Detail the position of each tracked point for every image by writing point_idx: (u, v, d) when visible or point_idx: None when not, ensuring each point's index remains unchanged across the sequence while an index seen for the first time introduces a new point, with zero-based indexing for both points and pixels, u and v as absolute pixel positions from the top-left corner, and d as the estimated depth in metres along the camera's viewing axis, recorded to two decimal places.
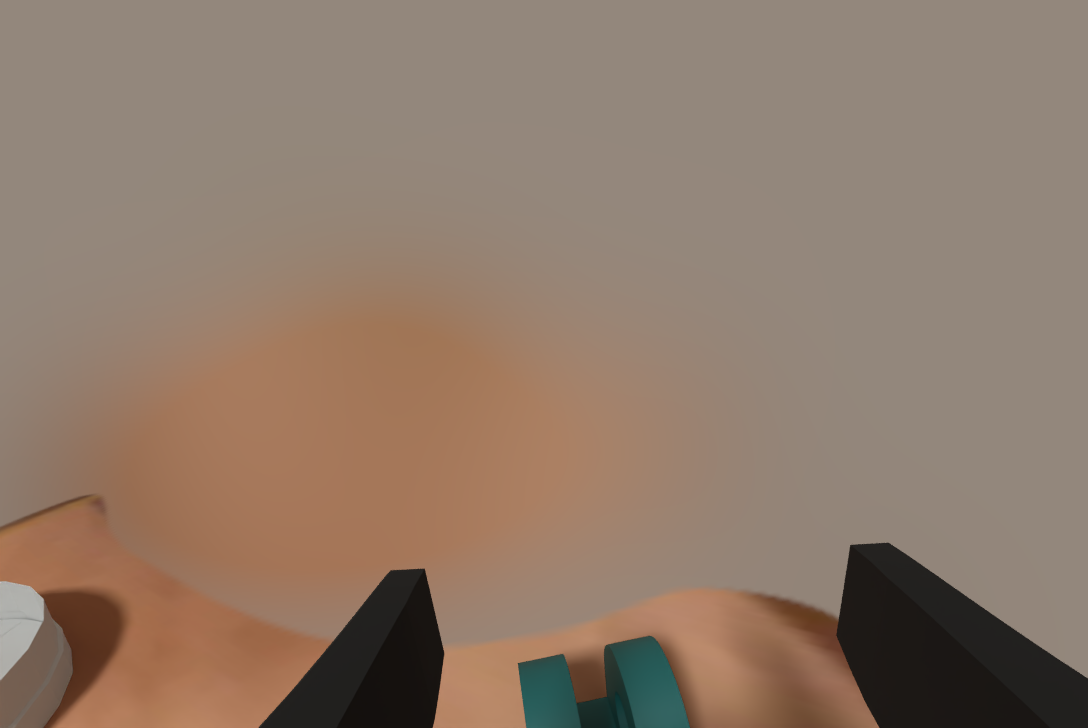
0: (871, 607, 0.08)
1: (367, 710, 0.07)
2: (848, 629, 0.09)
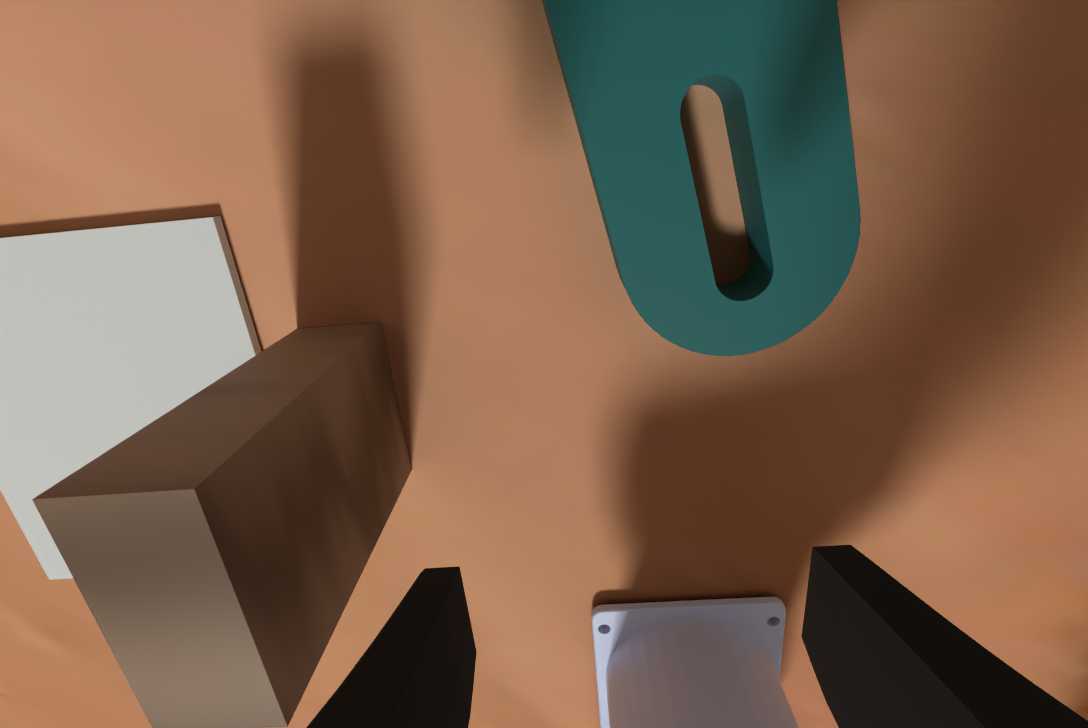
0: (831, 609, 0.08)
1: (413, 708, 0.07)
2: (812, 631, 0.09)
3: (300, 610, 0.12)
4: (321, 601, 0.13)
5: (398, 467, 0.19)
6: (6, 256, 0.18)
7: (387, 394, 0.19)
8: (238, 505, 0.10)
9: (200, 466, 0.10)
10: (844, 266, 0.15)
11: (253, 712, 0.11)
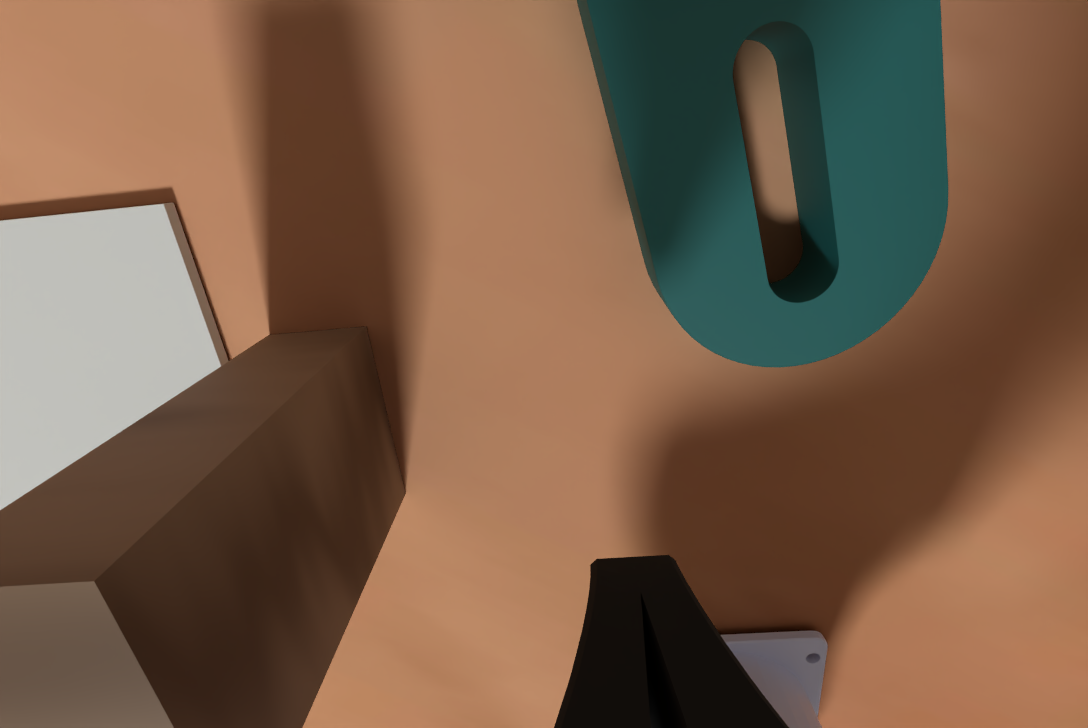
0: None
1: None
2: None
3: (262, 701, 0.10)
4: (292, 680, 0.11)
5: (389, 494, 0.17)
6: None
7: (375, 410, 0.16)
8: (169, 587, 0.08)
9: (113, 540, 0.07)
10: (924, 260, 0.13)
11: None
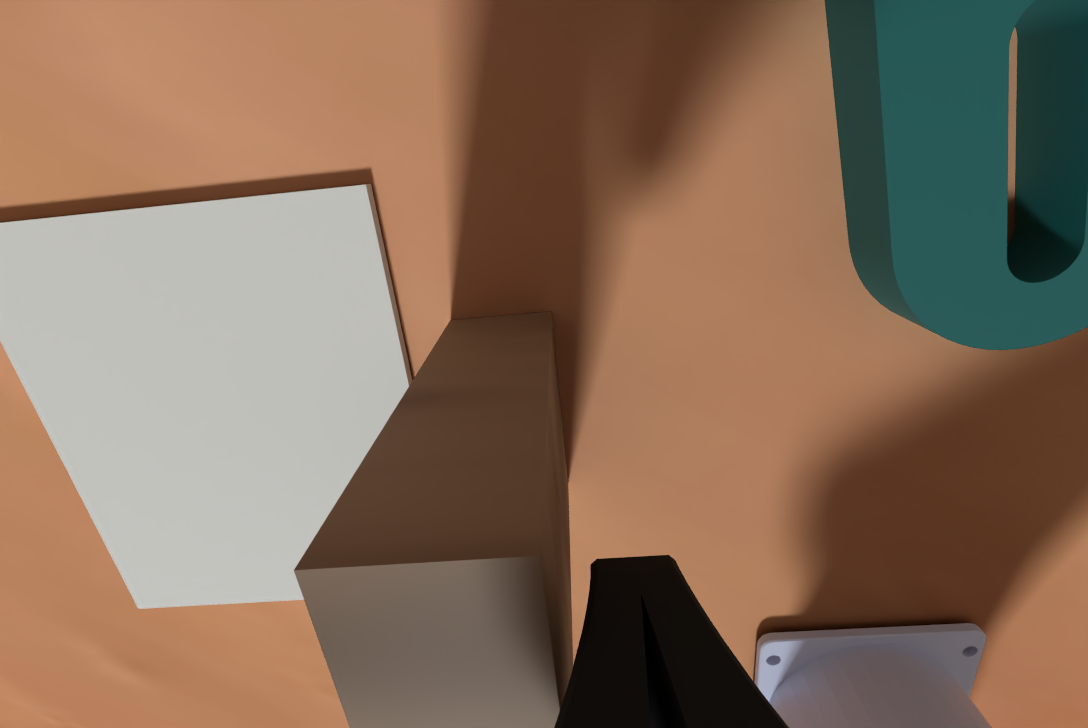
0: None
1: None
2: None
3: None
4: (569, 668, 0.10)
5: (566, 482, 0.16)
6: (109, 234, 0.15)
7: (558, 397, 0.16)
8: (549, 566, 0.07)
9: (512, 515, 0.07)
10: None
11: None
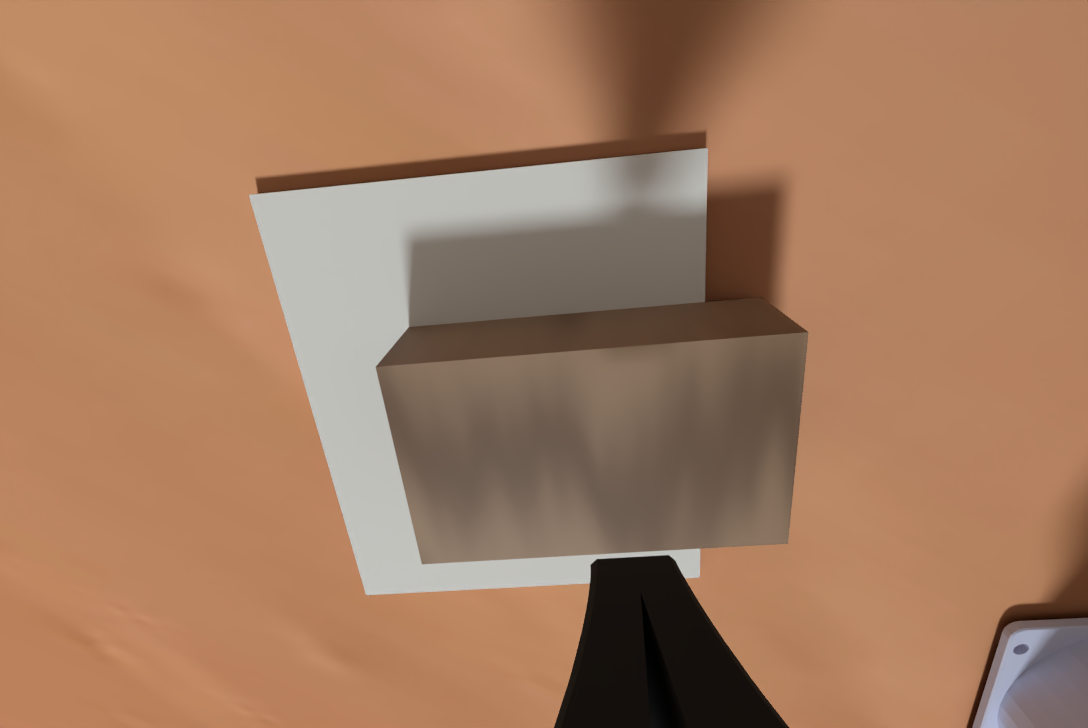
0: None
1: None
2: None
3: (466, 512, 0.14)
4: (499, 527, 0.14)
5: (743, 520, 0.14)
6: (424, 201, 0.14)
7: (767, 429, 0.13)
8: (418, 400, 0.13)
9: (411, 358, 0.13)
10: None
11: None
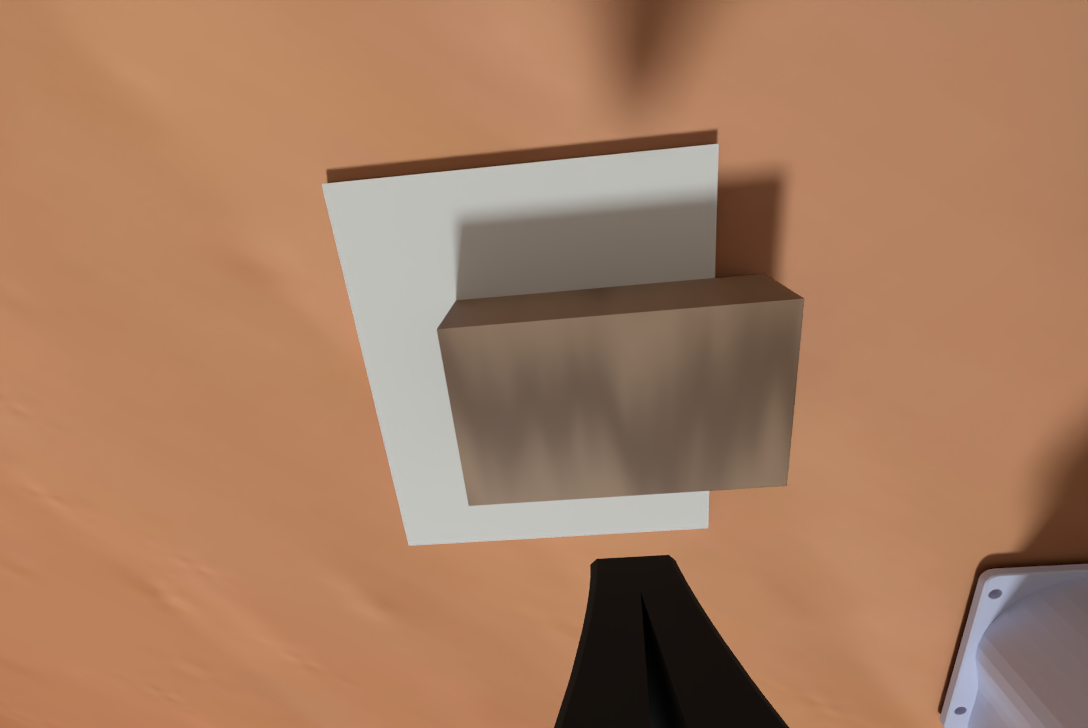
0: None
1: None
2: None
3: (509, 458, 0.16)
4: (537, 472, 0.16)
5: (748, 465, 0.16)
6: (473, 189, 0.16)
7: (769, 383, 0.15)
8: (471, 358, 0.15)
9: (466, 322, 0.15)
10: None
11: None
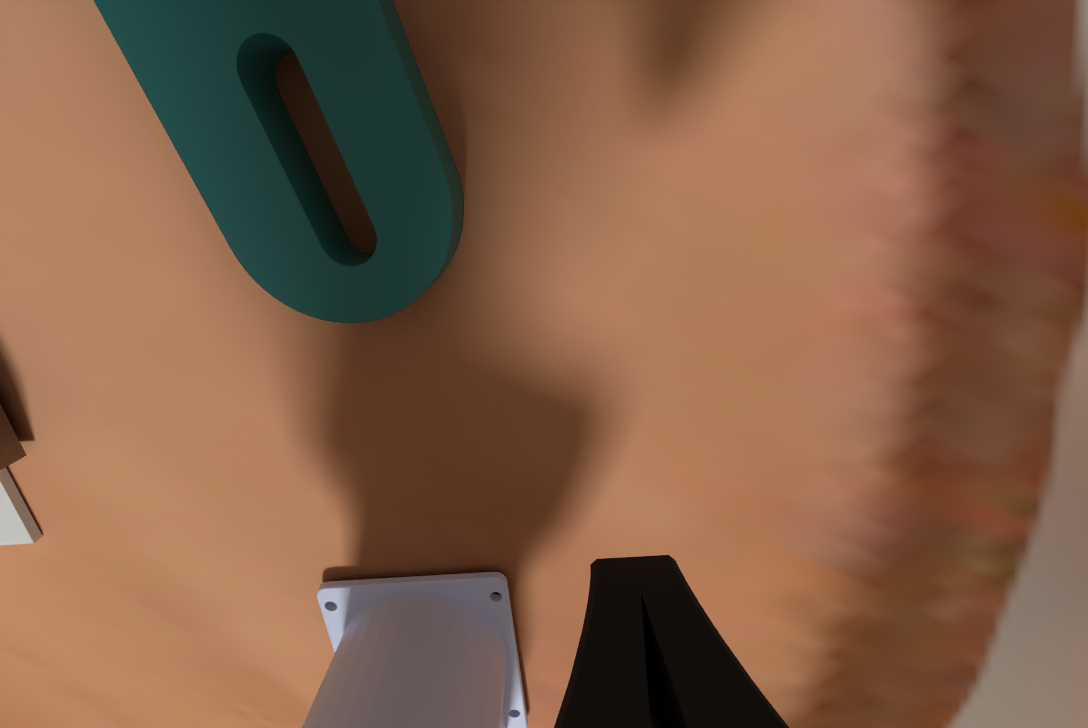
0: None
1: None
2: None
3: None
4: None
5: None
6: None
7: None
8: None
9: None
10: (444, 228, 0.15)
11: None
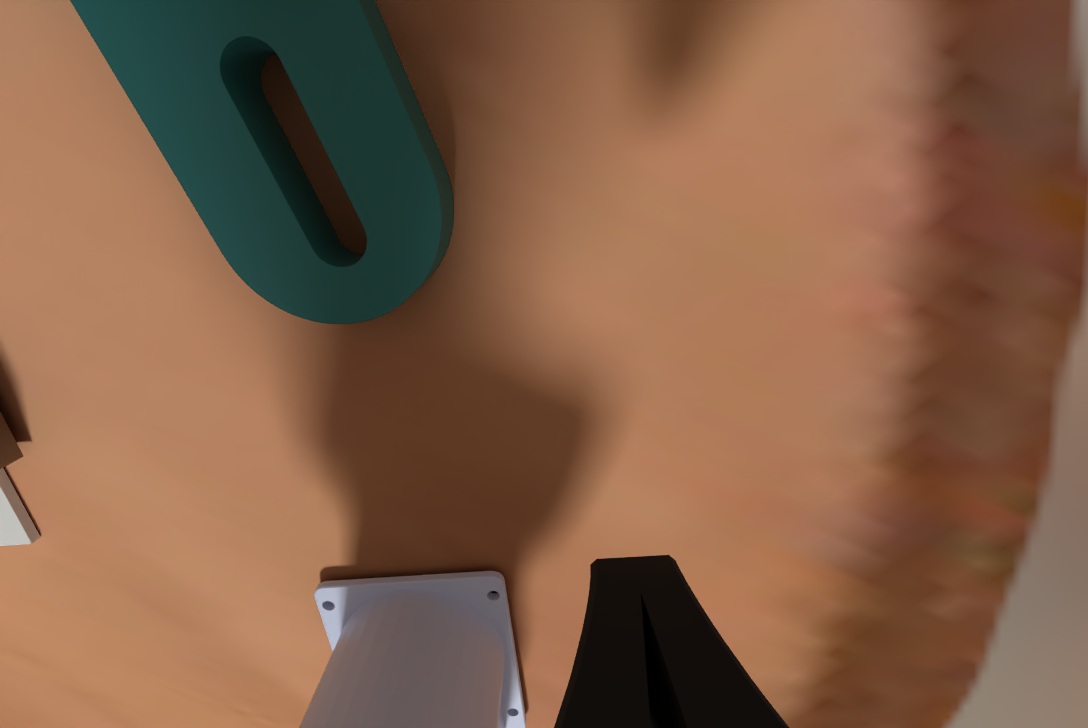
0: None
1: None
2: None
3: None
4: None
5: None
6: None
7: None
8: None
9: None
10: (434, 225, 0.15)
11: None
